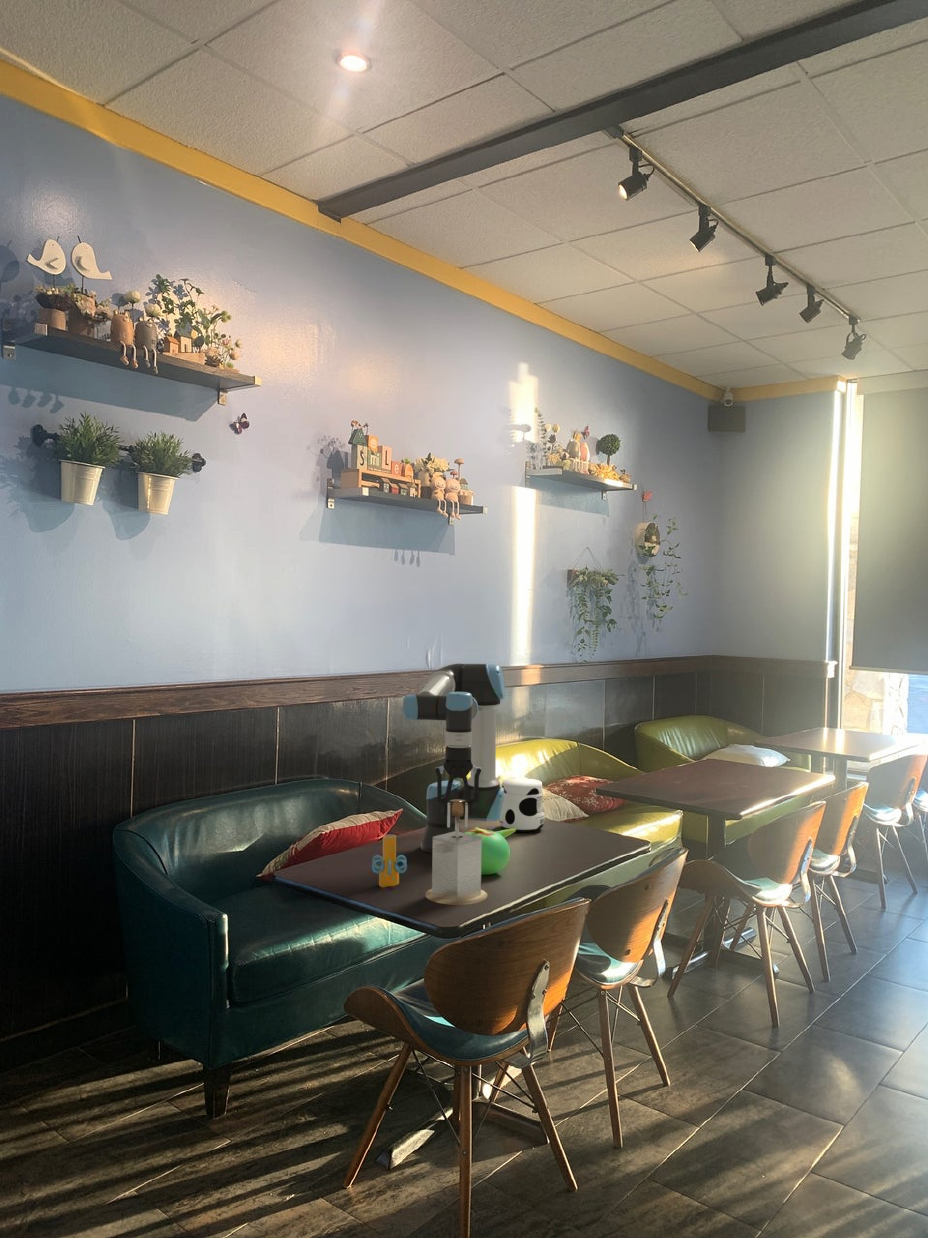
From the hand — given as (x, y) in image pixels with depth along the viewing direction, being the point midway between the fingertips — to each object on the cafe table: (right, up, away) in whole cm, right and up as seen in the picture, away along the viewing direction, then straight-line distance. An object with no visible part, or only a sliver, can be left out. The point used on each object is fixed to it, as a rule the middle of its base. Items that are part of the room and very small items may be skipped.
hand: (457, 826), depth 272 cm
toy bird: (+8, -21, +25) cm, 34 cm away
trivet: (0, -21, 0) cm, 21 cm away
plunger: (0, -12, 0) cm, 12 cm away
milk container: (+24, -20, +84) cm, 90 cm away
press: (0, -20, 0) cm, 20 cm away
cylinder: (-21, -20, +11) cm, 31 cm away
